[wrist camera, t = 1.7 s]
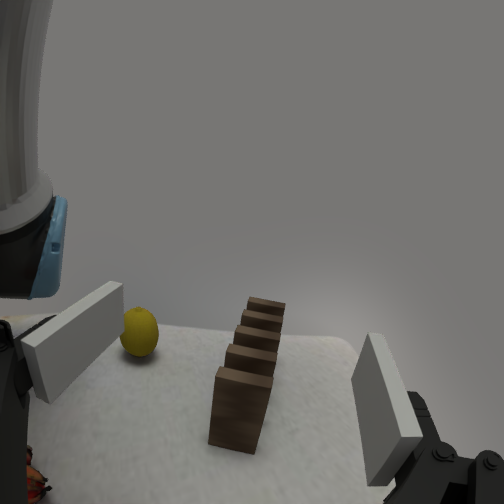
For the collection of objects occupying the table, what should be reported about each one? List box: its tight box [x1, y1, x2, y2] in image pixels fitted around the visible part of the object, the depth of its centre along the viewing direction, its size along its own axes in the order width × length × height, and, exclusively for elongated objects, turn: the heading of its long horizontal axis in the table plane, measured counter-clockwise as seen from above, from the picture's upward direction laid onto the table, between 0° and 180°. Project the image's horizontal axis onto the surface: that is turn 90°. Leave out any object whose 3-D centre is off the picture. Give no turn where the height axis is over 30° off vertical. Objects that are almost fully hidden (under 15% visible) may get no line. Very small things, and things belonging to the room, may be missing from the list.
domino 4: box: [224, 343, 278, 377], centre depth 32 cm, size 5×2×10 cm, turn 81°
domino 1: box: [246, 297, 285, 317], centre depth 44 cm, size 5×2×10 cm, turn 81°
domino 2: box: [240, 309, 283, 333], centre depth 40 cm, size 5×2×10 cm, turn 81°
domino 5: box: [208, 366, 273, 454], centre depth 28 cm, size 5×2×10 cm, turn 81°
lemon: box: [120, 307, 159, 357], centre depth 41 cm, size 6×6×8 cm
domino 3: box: [233, 325, 281, 353], centre depth 36 cm, size 5×2×10 cm, turn 81°
